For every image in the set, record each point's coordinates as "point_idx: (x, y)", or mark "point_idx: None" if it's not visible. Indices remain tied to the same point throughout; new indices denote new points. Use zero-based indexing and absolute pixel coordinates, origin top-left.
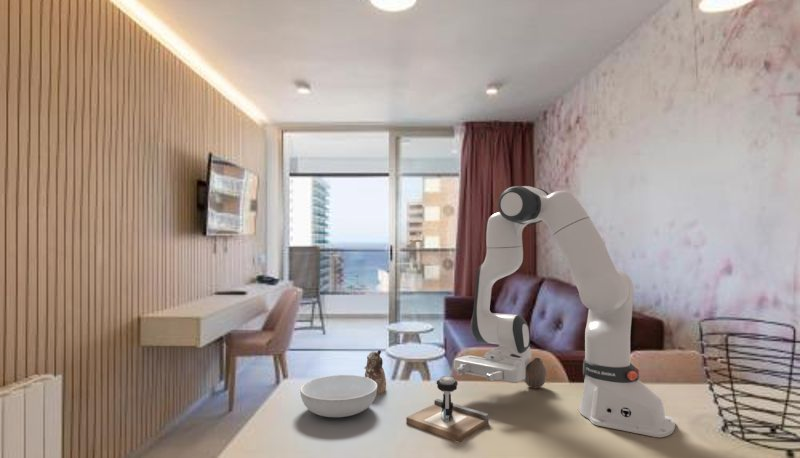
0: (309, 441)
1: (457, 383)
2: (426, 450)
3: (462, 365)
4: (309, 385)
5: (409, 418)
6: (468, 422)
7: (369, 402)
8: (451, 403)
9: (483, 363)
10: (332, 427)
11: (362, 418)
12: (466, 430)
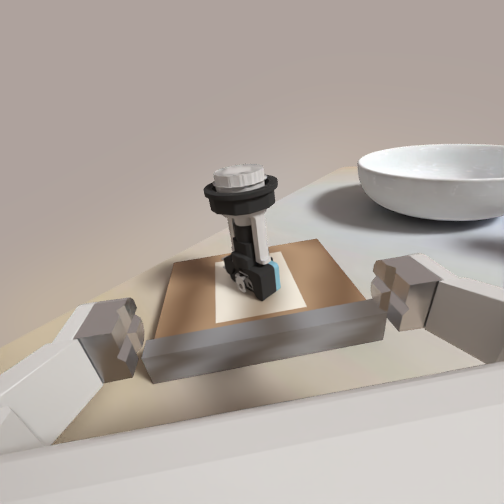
0: (329, 187)
1: (206, 193)
2: (209, 239)
3: (498, 298)
4: (489, 152)
5: (307, 240)
6: (190, 305)
7: (377, 192)
8: (238, 253)
9: (335, 461)
10: (359, 198)
11: (379, 219)
12: (172, 280)
